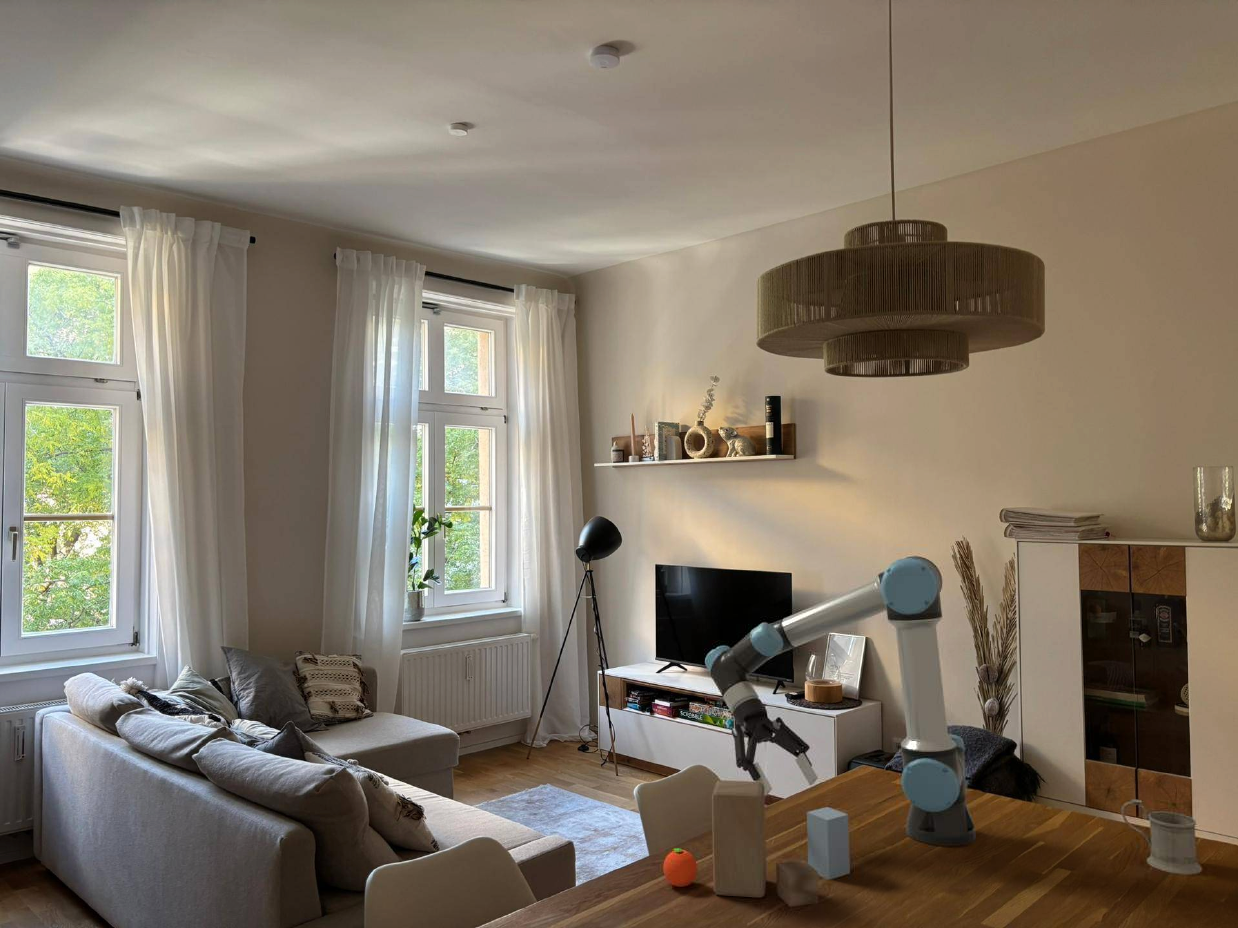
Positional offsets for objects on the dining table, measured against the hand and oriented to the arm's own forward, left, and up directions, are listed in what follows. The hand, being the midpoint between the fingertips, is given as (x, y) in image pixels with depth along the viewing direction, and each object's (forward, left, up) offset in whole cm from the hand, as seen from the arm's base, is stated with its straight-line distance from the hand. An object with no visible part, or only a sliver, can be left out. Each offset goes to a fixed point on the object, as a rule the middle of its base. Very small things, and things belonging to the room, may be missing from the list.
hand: (791, 786), depth 199 cm
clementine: (+27, +12, -15) cm, 33 cm away
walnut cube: (+5, +21, -15) cm, 27 cm away
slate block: (-5, +9, -15) cm, 18 cm away
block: (+15, +15, -15) cm, 26 cm away
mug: (-76, +12, -15) cm, 78 cm away
